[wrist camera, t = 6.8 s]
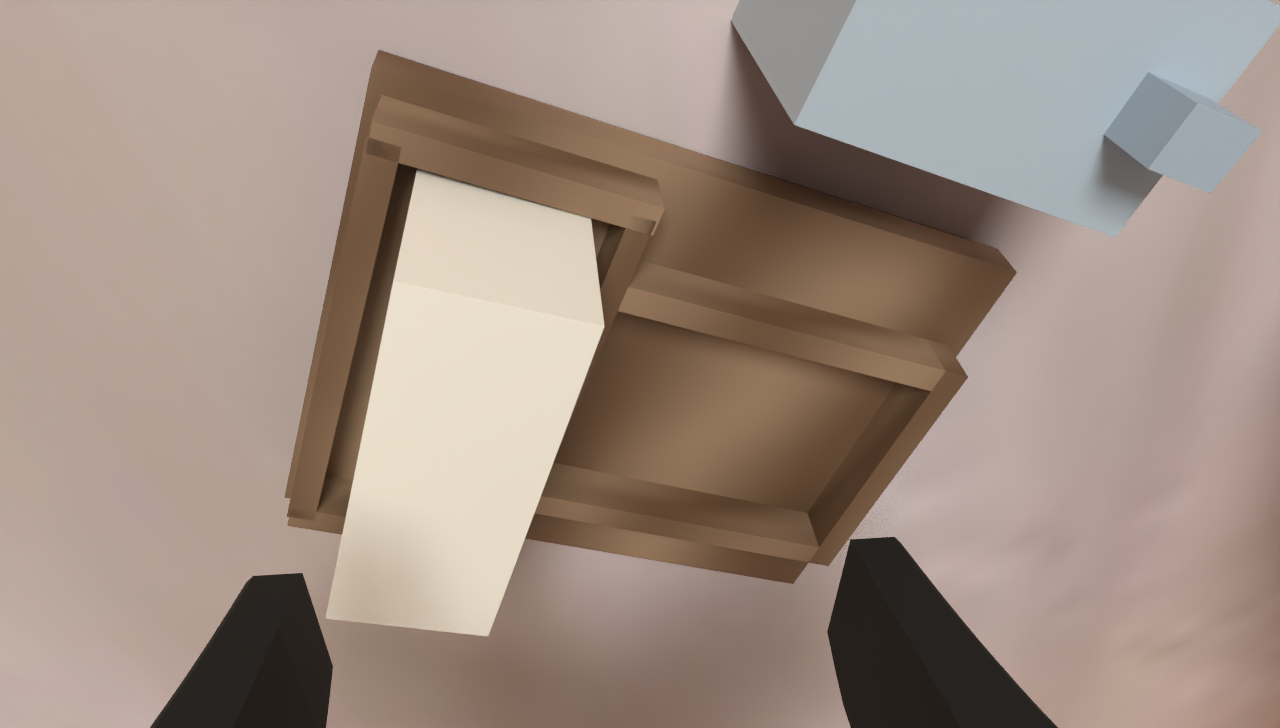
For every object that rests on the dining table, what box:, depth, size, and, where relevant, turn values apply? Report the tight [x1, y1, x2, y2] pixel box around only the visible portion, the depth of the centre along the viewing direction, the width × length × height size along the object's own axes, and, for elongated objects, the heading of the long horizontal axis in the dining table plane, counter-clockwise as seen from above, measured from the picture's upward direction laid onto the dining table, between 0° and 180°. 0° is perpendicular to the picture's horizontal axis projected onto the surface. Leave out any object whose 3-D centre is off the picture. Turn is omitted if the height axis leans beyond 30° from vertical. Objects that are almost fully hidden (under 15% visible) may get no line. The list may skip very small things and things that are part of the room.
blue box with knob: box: [731, 0, 1280, 237], centre depth 14 cm, size 6×4×6 cm, turn 69°
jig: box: [285, 50, 1017, 584], centre depth 20 cm, size 14×11×2 cm
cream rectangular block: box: [325, 168, 604, 636], centre depth 17 cm, size 3×8×5 cm, turn 161°
